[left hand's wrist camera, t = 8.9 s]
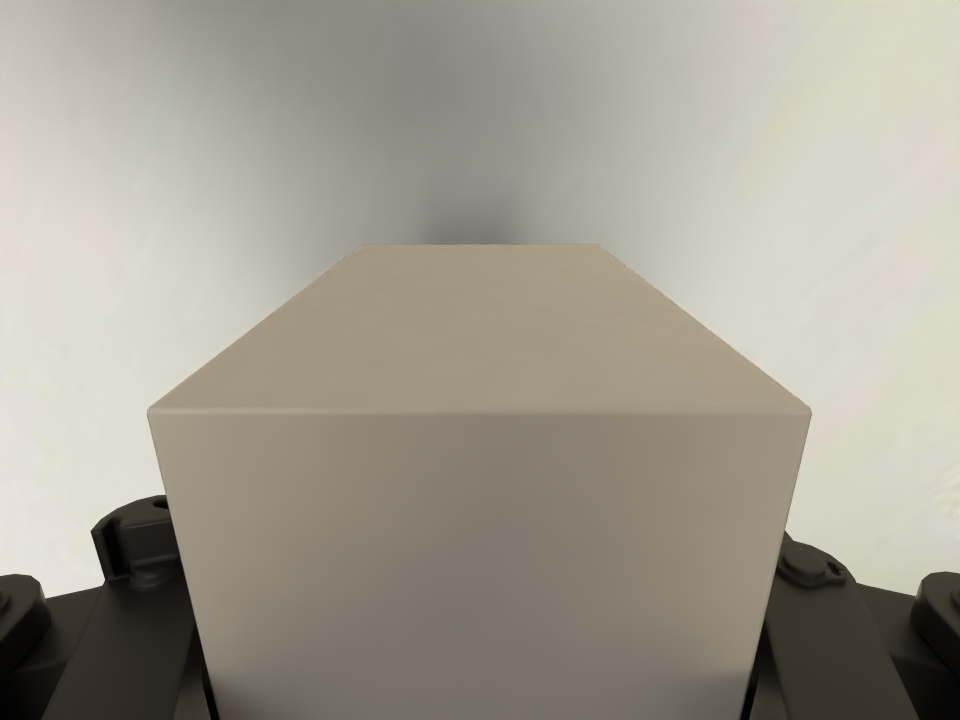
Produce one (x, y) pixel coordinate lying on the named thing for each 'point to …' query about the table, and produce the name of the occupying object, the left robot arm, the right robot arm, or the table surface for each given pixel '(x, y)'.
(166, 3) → the table surface
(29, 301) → the table surface
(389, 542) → the box
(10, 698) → the left robot arm
